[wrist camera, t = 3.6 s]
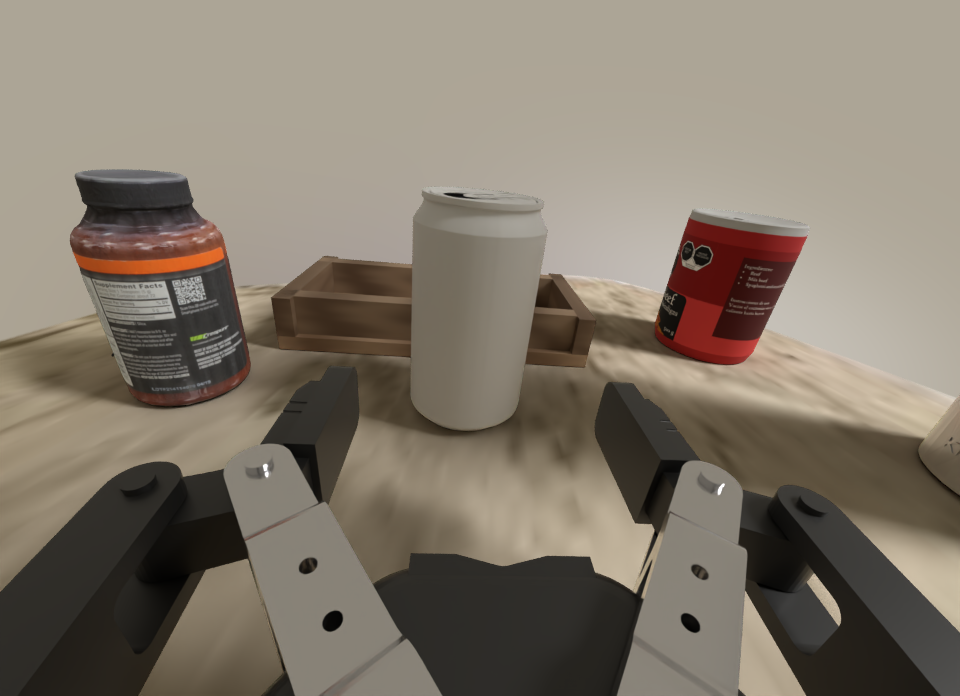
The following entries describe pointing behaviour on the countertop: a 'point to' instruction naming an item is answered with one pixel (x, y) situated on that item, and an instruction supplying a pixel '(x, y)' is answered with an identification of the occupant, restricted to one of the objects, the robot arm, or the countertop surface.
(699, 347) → the canned food
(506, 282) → the beverage can
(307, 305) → the wooden tray
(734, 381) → the countertop surface
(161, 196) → the supplement bottle
